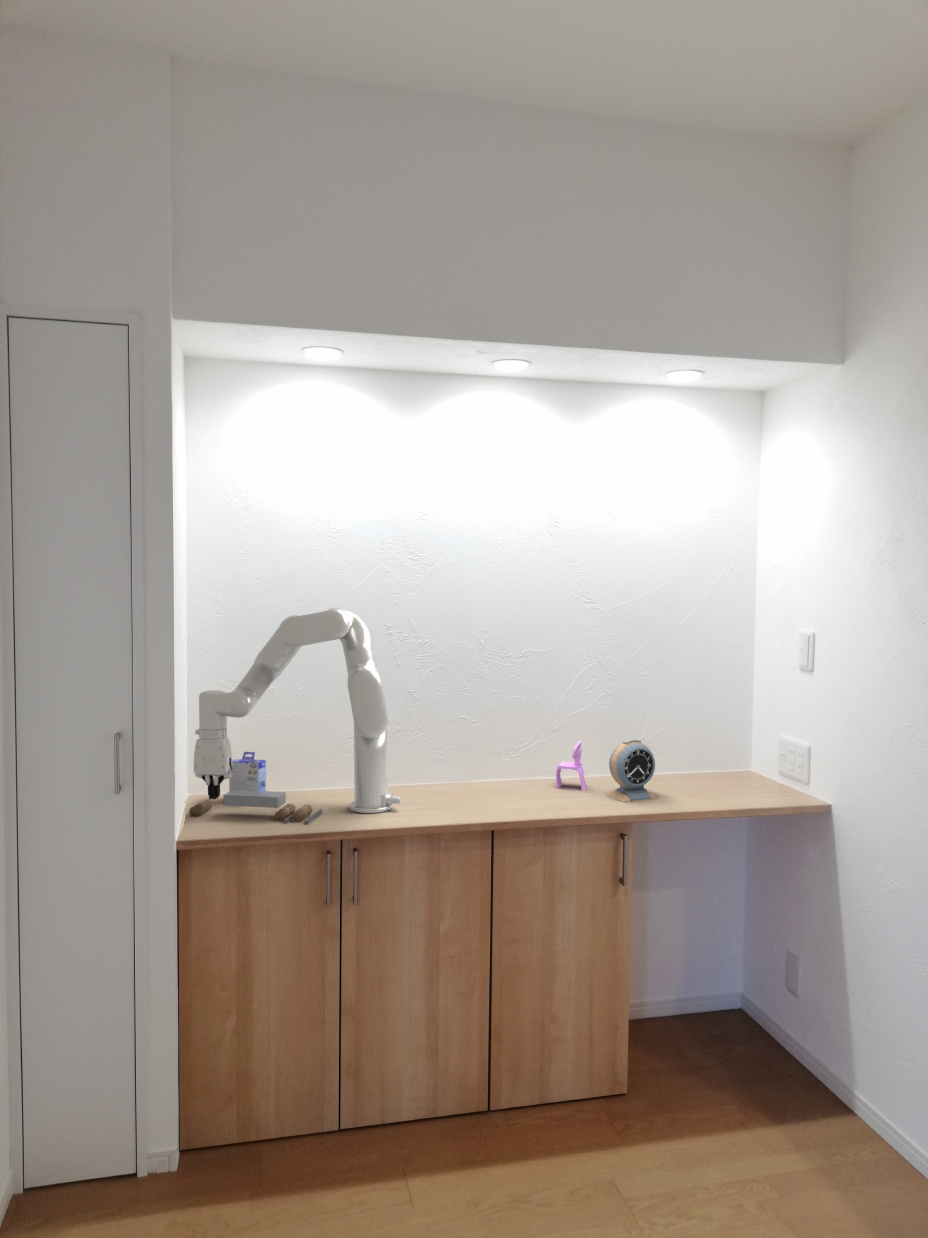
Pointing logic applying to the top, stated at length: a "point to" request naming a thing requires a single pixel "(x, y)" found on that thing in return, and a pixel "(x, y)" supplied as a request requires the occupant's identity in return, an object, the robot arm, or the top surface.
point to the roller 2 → (285, 812)
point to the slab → (254, 798)
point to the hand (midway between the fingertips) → (214, 798)
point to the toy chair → (572, 767)
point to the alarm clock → (631, 771)
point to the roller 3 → (301, 813)
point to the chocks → (307, 819)
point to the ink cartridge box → (248, 774)
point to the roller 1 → (200, 808)
